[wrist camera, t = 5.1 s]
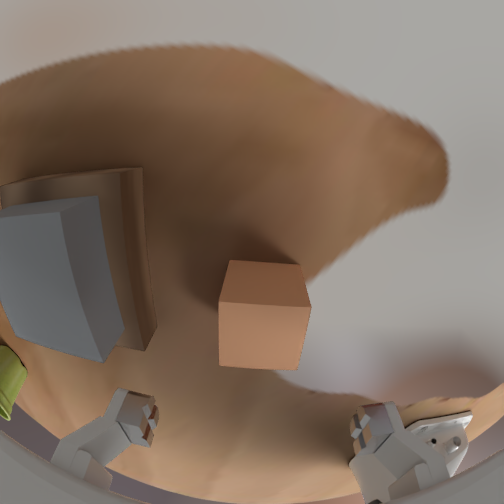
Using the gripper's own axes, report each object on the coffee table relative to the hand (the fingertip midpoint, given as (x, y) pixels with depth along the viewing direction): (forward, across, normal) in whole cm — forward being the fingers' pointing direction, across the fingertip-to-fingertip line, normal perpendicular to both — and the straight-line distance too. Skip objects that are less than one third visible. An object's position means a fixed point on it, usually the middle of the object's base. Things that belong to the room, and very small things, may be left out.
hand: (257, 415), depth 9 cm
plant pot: (+10, -35, -17) cm, 40 cm away
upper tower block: (+7, -14, +2) cm, 15 cm away
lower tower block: (+10, -14, +2) cm, 17 cm away
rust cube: (+10, 0, 0) cm, 10 cm away
